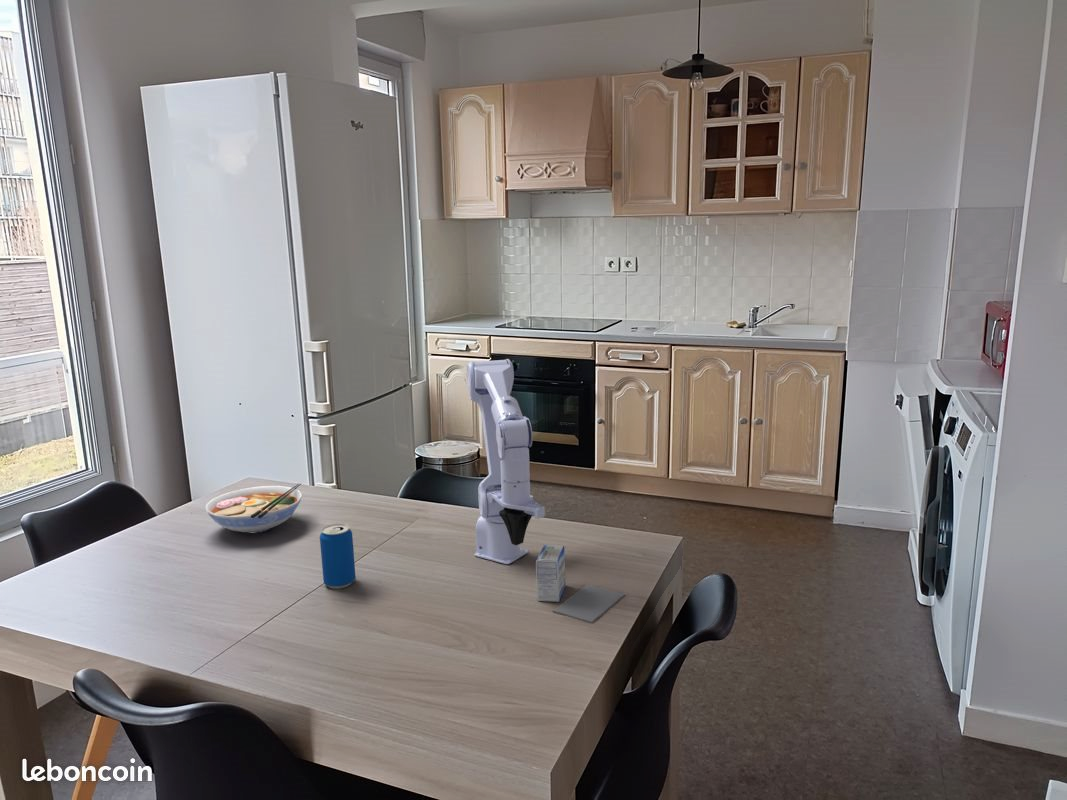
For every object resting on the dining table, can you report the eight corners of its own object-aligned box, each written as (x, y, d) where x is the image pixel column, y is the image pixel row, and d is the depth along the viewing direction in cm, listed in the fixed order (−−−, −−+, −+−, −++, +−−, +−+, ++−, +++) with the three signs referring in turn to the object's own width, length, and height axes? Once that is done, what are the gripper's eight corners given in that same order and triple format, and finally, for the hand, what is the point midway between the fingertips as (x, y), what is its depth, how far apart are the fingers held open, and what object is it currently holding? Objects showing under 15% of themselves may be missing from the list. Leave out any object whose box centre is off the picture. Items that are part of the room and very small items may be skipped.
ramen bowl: (240, 509, 205) (236, 480, 203) (321, 511, 202) (318, 482, 200) (186, 546, 181) (182, 513, 179) (277, 549, 177) (274, 516, 176)
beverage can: (362, 579, 161) (358, 525, 158) (342, 592, 155) (337, 536, 152) (337, 574, 163) (333, 521, 161) (317, 587, 158) (312, 532, 155)
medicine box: (559, 603, 148) (558, 561, 146) (536, 601, 149) (535, 559, 147) (565, 585, 156) (565, 545, 154) (544, 583, 157) (543, 543, 155)
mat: (553, 611, 145) (552, 610, 145) (587, 585, 155) (587, 584, 155) (591, 623, 140) (591, 621, 140) (624, 595, 150) (624, 593, 150)
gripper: (555, 481, 150) (556, 547, 152) (506, 467, 160) (508, 528, 163) (529, 490, 145) (531, 557, 148) (480, 475, 155) (482, 538, 158)
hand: (517, 543), depth 155 cm, fingers closed
